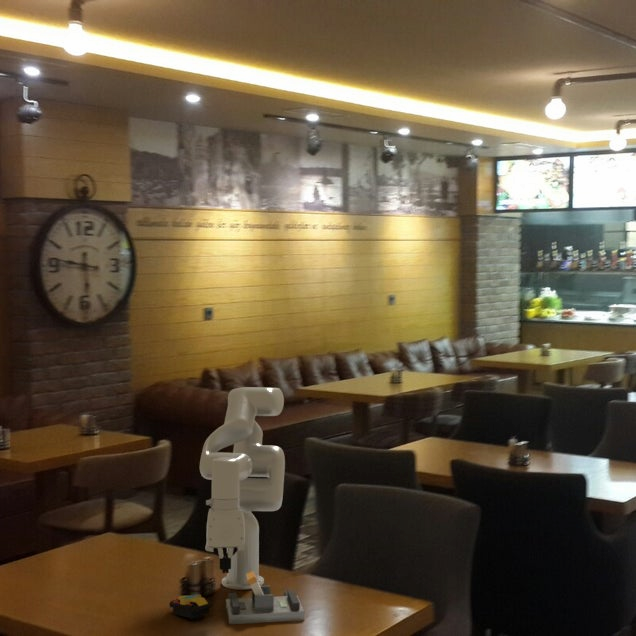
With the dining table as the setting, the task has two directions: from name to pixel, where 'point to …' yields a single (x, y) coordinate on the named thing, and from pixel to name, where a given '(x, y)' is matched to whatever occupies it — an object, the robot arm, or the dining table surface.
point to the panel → (264, 609)
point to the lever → (254, 583)
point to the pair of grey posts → (288, 593)
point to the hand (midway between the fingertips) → (225, 571)
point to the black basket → (191, 606)
